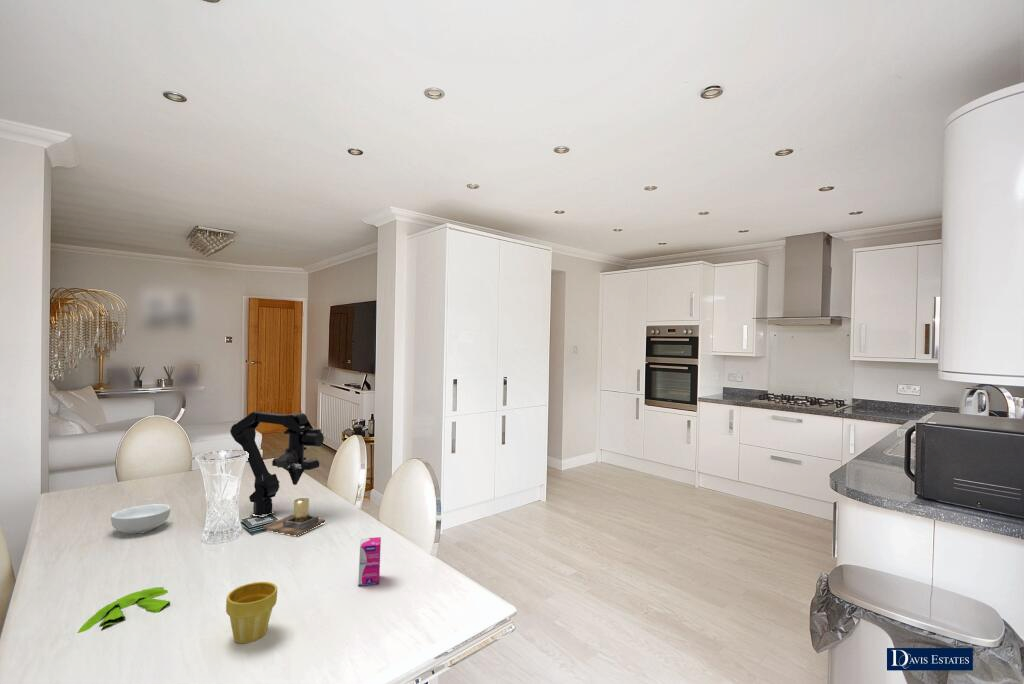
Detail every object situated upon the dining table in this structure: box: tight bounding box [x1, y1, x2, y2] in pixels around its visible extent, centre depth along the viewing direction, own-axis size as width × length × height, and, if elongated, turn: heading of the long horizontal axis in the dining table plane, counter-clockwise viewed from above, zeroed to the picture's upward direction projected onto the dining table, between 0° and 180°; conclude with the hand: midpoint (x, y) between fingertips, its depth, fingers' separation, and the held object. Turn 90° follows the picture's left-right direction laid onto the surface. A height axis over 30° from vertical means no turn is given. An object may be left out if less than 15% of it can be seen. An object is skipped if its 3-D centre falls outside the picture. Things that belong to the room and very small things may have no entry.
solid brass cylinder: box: [293, 497, 310, 523], centre depth 172 cm, size 5×5×9 cm
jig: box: [262, 514, 326, 536], centre depth 172 cm, size 16×14×4 cm
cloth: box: [76, 586, 171, 634], centre depth 115 cm, size 20×22×2 cm
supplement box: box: [357, 536, 382, 587], centre depth 133 cm, size 6×6×12 cm
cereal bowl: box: [110, 503, 171, 535], centre depth 167 cm, size 17×17×7 cm
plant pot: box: [225, 581, 278, 644], centre depth 106 cm, size 10×10×10 cm
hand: (295, 484), depth 183 cm, fingers closed
